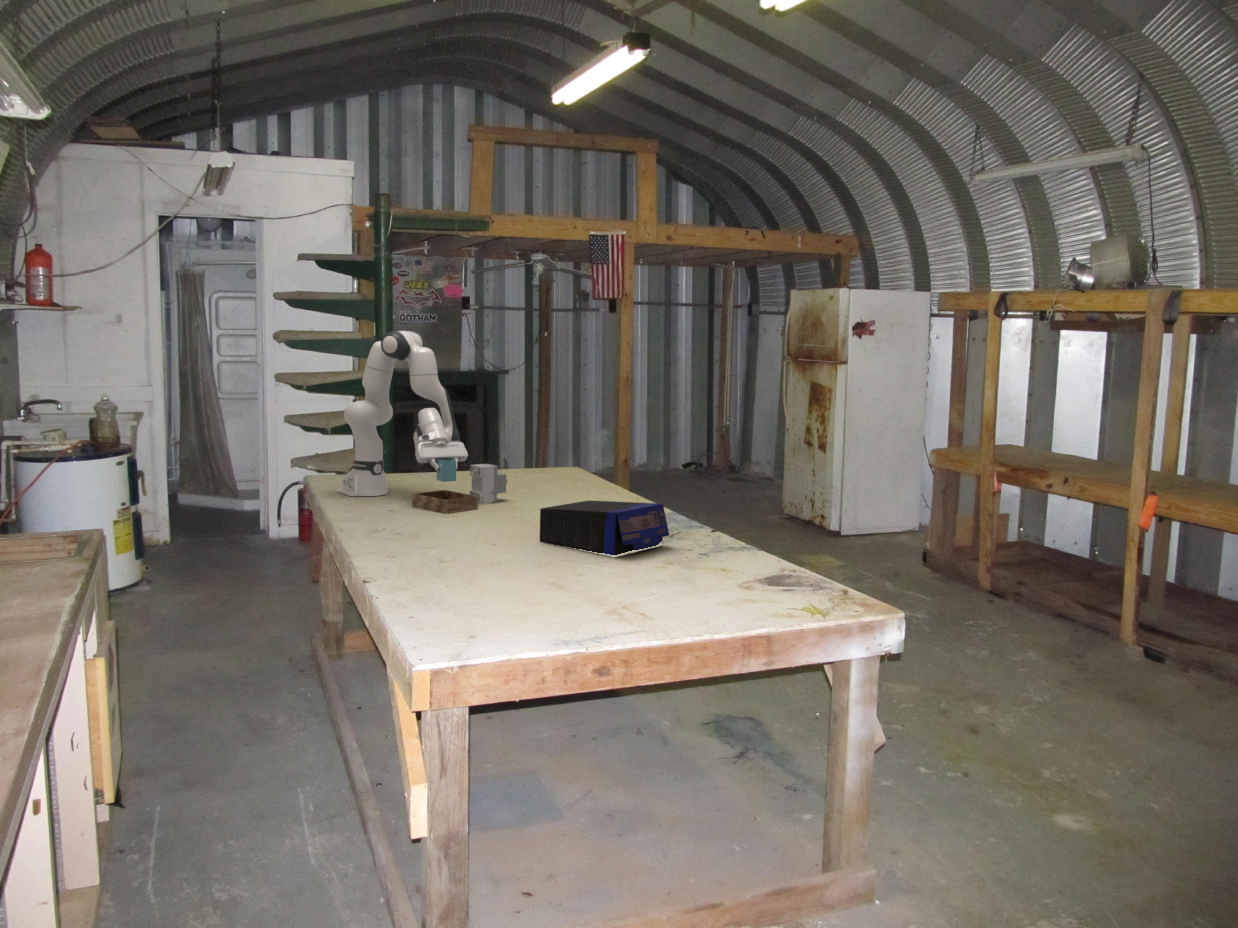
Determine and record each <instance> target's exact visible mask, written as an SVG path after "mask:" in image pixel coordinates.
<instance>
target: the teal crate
mask: <svg viewBox="0 0 1238 928" xmlns="http://www.w3.org/2000/svg"><path fill="white" fill-rule="evenodd" d="M436 463H437V465H440V470H439V471H436V481H440V482H442V483H445V482H456V481H457V470H456V460H453V459H437V462H436Z"/></svg>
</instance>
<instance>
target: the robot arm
mask: <svg viewBox="0 0 1238 928" xmlns="http://www.w3.org/2000/svg"><path fill="white" fill-rule="evenodd" d="M426 342H427V341H426V340H425V338H424V336H423V335H422V334H420V333H418V332H417V331H410V330H392V331H390V332H387V333H385V334H384V335H383V336H382V338H381V340H377V341H375V342H374V343H373V345H372V347H371V348H370V351H369V354H368V357H367V359H366V362H365V368H364V371H363V376H362V380H361V385H362V386H363V388H364V393H365V396H364V400H363V399H362V400H356V401H354V402H352V403H350V404H347V406H346V407H345V409H344V412H343V418H344V420H345V422H346V424H348V425H349V427H350V429H351V431H352V436H353V440H354V457H355V459H354V460H351V462H352V463H351V464H352V467H351V470H350V471H349V472H348V473H347V474H346V475H344V476H343V479H342V487H339V488H337V489H336V492H337V493H340V494H343V495H346V496H349V497H377V496H378V497H379V496H384V495H387V494H388V492H390V490H389V488H388V487H387V477H386V476H387V475H386V472H385V471H384V469H385V461H384V444H383V443H384V442H383V439H381V437H380V436H379V433H378V430H377V426H379V427H380V426H382V425H384V424H386V423H388V422H389V421H391V420H392V418H393V415H394V409H393V406H392V404H391V403H390V389H391V388H390V387H391V382H392V378H393V375H394V368H395V365H396V363H397V360H399V361H406V363H407V364H408V368H409V369H408V370H409V371H408V372H409V381H410V383H409V384H410V387H411V390H412V391H413V392H414V394H415V395H417V396H419V397H421V398H424V399H427V400H429V401H430V400H431V401H433V402H435V403H436V404H437V405H438V406H439V409H440V412H439V411H438V410H437V409H436V408H435V407H425V408H423V409H421V410H419V411H418V414H417V418H418V425H417V427H416V429H415V430H414V431H413V432H412V433H413V434H412V441H413V444H414V449H415V453H414V454H415V459H416V461H417V463H419V464H429V463H430V465H431V466H432V467H433V468H434V470H435V471H436V472H437V471H439V470H440V465H437V459H453V460H456V471H457V470H458V468H459V467H458V462H465V461H466V460H467V458H468V456H469V453H468V450H467V449H466V447H465V444H464V443H463V442H462V441H461V436H460V433H459V430H458V427H457V424H456V420H455V416H454V412H453V406H452V402H451V398H450V396H449V393H448V390H447V388H446V387H444V386H443V385H442V383H440V379H439V375H438V374H439V373H438V365H437V360H436V355H435V353H434V351H433V350H432V349H431V348H429V347H426V346H427V345H426V344H427V343H426ZM440 413H441V415H440Z"/></svg>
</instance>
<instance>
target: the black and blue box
mask: <svg viewBox="0 0 1238 928" xmlns="http://www.w3.org/2000/svg"><path fill="white" fill-rule="evenodd" d="M664 507H665V506H664V504H663V503H654V502H652V503H651V502H635V501H634V502H631V501H629V502H628V501H610V500H609V501H607V500H584V501H579V502H572V503H570V502H569V503H565V504H559V505H554V506H553V505H552V506H547V507H541V508H539V543H543V542H544V543H543V544H548V545H552V544H554V545H553V546H557V545H559V546H558V547H562V546H566V547H571V548H576V549H582V550H586V551H592V552H597V553H605V554H610V555H618V554H621V553H625V552H628V551H632V550H639V549H644V548H648V547H652V546H656V545H658V544H659V543H660V542H661V541H662V542H663V538H664V537H668V536H670V532H669V531H670V530H669V526H668V521H667V516H666V513H665V511H666V510H665V508H664ZM566 547H565V548H566ZM571 548H570V549H571Z"/></svg>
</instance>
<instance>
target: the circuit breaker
mask: <svg viewBox="0 0 1238 928" xmlns="http://www.w3.org/2000/svg"><path fill="white" fill-rule="evenodd" d="M498 469H499V467H498V465H494V464H489V463H479V464H470V468H469V476H470V477H471V489H470V490H469V495H474V496H478V505H480V504H481V505H486V504H485V503H490V504H492V503H491V502H497V503H498V494H504V493H507V483H508V479H507V473H501V472H499V470H498Z"/></svg>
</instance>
